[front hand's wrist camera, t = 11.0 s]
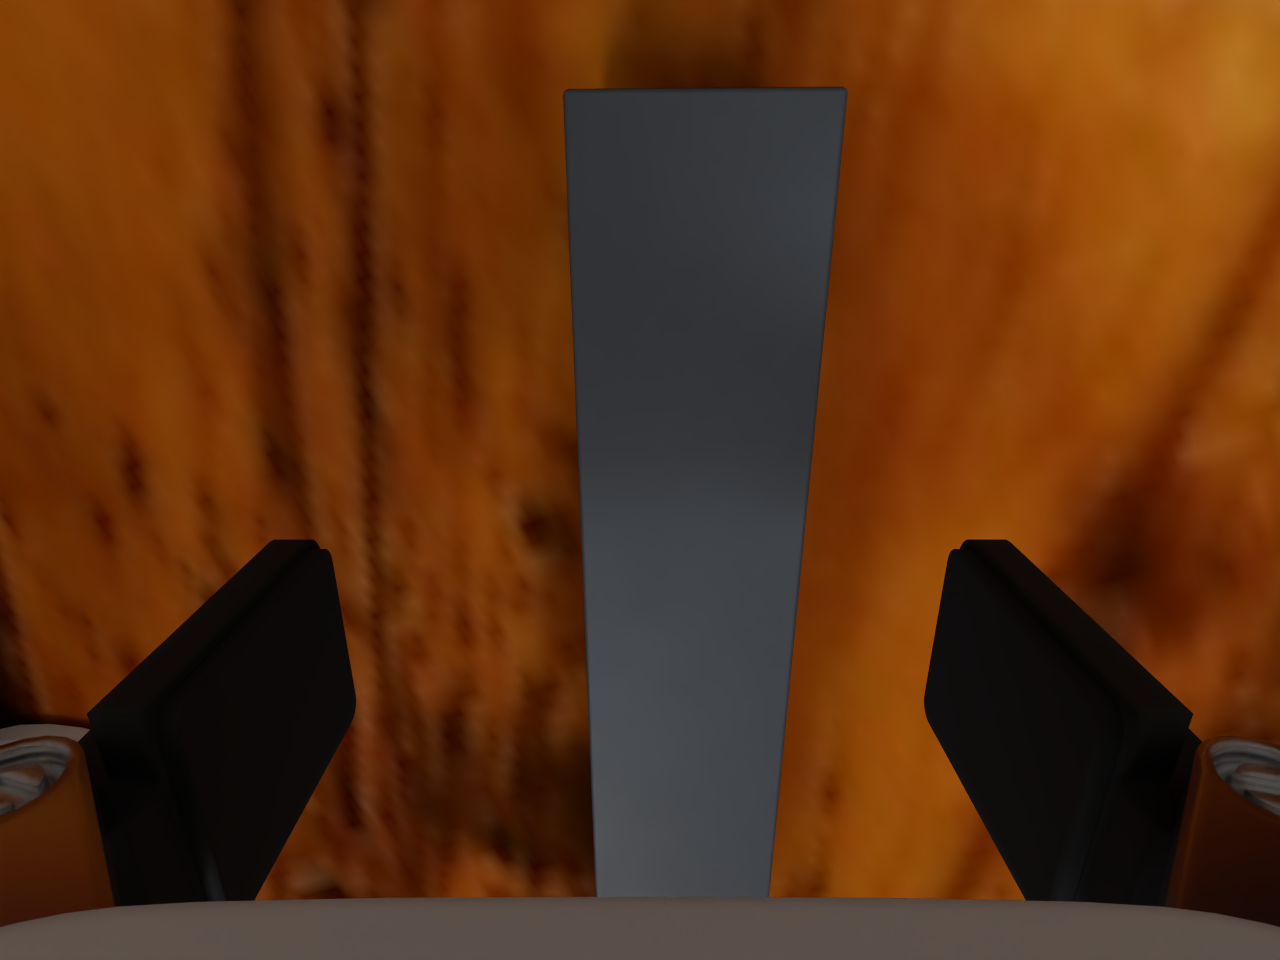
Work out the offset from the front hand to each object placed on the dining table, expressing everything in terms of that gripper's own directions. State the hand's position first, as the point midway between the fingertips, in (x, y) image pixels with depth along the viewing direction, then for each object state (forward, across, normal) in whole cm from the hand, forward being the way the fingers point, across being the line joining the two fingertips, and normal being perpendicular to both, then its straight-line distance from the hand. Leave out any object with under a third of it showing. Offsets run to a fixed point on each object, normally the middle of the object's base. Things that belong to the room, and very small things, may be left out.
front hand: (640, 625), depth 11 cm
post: (+12, +2, -26) cm, 28 cm away
